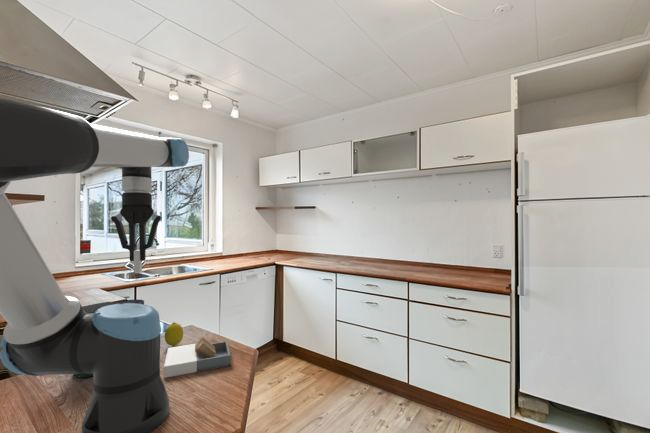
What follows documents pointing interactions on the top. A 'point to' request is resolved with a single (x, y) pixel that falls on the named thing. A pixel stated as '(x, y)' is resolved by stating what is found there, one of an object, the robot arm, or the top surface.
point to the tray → (215, 358)
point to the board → (180, 361)
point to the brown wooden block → (205, 348)
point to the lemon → (173, 334)
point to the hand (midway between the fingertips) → (137, 272)
